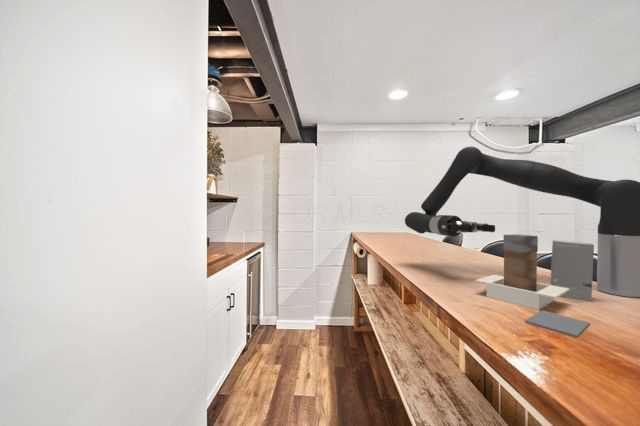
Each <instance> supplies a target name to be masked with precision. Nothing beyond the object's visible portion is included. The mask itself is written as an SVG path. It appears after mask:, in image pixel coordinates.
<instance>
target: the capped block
mask: <svg viewBox="0 0 640 426" xmlns="http://www.w3.org/2000/svg"><path fill="white" fill-rule="evenodd" d="M538 238H539V236H538V235H528V234H518V233H517V234H503V277H504V286H509V287H513V288H518V289H523V290H528V291H533V292H537V283H538V282H537V280H538V279H537V278H538V277H537V276H538V275H537V273H538V270H537V269H538V268H537V267H538V266H537V265H538V251H539V250H538V249H539V248H538V246H539V245H538V244H539V242H538V241H539V239H538Z"/></svg>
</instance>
